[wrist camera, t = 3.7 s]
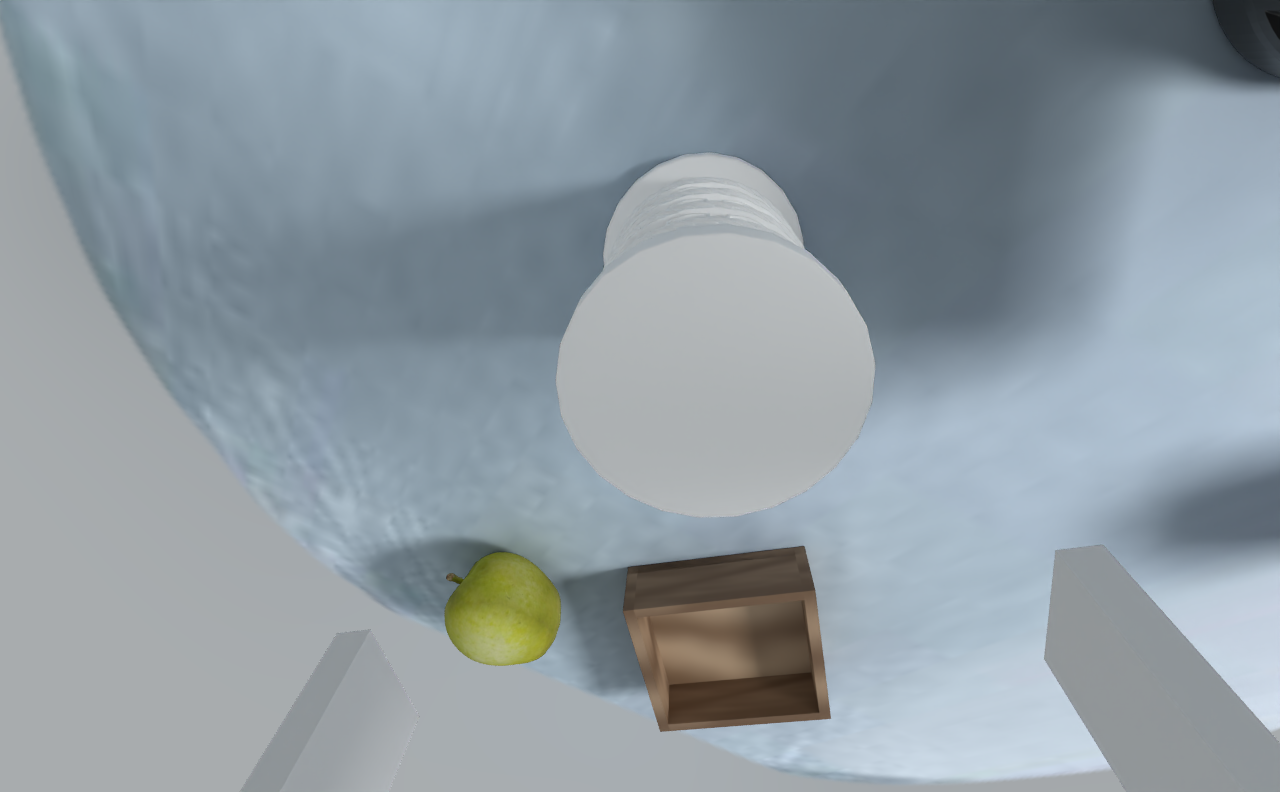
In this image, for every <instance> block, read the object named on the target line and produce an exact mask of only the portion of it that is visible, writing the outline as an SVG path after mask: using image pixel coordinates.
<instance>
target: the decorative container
mask: <svg viewBox="0 0 1280 792" xmlns="http://www.w3.org/2000/svg"><path fill="white" fill-rule="evenodd" d="M803 245H804V240H803V236H802V232H801V228H800V224H799V220H798V216H797V214H796V212H795V210H794V209H793V207H792V205H791V203H790V202H789V200H788V198H787V196H786V195H785V193H784V191H783V190H782V189H781V188H780V187H779V186H778V185H777V184H776V183H775V182H774V181H773V180H772V179H771V178H770V177H769V176H768V175H767V174H766V173H764V172H763V171H762V170H761V169H759V168H757V167H755V166H753V165H751V164H750V163H748V162H746V161H744V160H742V159H740V158H738V157H733V156H728V155H723V154H718V153H712V152H708V153H696V154H684V155H681V156H679V157H676V158H673V159H671V160H668V161H665V162H663V163H660V164H658V165H656V166H655V167H654V168H652V169H651V170H650V171H648V172H647V173H645V174H644V175H643V176H641V177H640V178H638V179H637V180H636V181H635V182H634V184H633V185H632V186H631V187H630V189H629V190H628V191H627V192H626V194H625V195H624V196H623V197H622V199H621V200H620V201H619V203H618V205H617V207H616V210H615V212H614V214H613V216H612V219H611V221H610V223H609V226H608V228H607V232H606V239H605V245H604V252H603V259H604V268H603V271H602V272H601V273H600V274H599V276H598V277H597V278H596V279H595V280H594V282H593V283H592V284H591V285H590V287H589V288H588V289H587V290H586V291H585V293H584V294H583V295H582V296H581V298H580V301H579V303H578V305H577V307H576V309H575V311H574V314H573V316H572V318H571V320H570V323H569V325H568V327H567V329H566V332H565V334H564V336H563V339H562V341H561V343H560V349H559V357H558V365H557V374H556V386H557V392H558V399H559V405H560V411H561V417H562V419H563V421H564V423H565V425H566V427H567V429H568V431H569V433H570V436H571V438H572V440H573V442H574V444H575V446H576V448H577V450H578V451H579V452H580V453H581V454H582V455H583V457H584V458H585V459H586V460H587V461H588V463H589V464H590V465H591V466H592V467H593V468H594V470H595V471H596V472H597V473H598V474H599V476H601V477H602V478H604V479H605V480H606V481H608V482H609V483H611V484H612V485H613V486H615V487H616V488H618V489H619V490H620V491H622V492H623V493H625V494H626V495H627V496H629V497H631V498H633V499H636V500H638V501H640V502H643V503H645V504H647V505H650V506H652V507H655V508H657V509H659V510H662V511H666V512H672V513H677V514H683V515H688V516H694V517H733V516H740V515H744V514H748V513H752V512H756V511H760V510H764V509H769V508H772V507H775V506H777V505H779V504H781V503H783V502H785V501H787V500H789V499H791V498H793V497H795V496H797V495H799V494H801V493H804V492H806V491H807V490H808V489H810V488H811V487H812V486H813V485H814V484H816V483H817V482H818V481H819V480H821V479H822V478H823V477H824V476H826V475H827V474H828V473H829V472H831V471H832V470H833V469H834V468H835V467H836V466H837V465H838V464H839V462H840V461H841V460H842V458H843V457H844V456H845V454H846V453H847V452H848V450H849V449H850V448H851V446H852V445H853V444H854V442H855V441H856V440H857V438H858V437H859V434H860V432H861V429H862V427H863V424H864V422H865V419H866V416H867V414H868V411H869V409H870V406H871V404H872V397H873V387H874V376H875V365H876V364H875V360H874V355H873V351H872V346H871V342H870V337H869V333H868V328H867V325H866V324H865V322H864V320H863V318H862V317H861V315H860V313H859V311H858V310H857V308H856V306H855V304H854V303H853V301H852V299H851V297H850V296H849V294H848V292H847V290H846V289H845V288H844V286H843V285H842V284H841V282H840V281H839V279H838V278H837V277H835V276H834V275H833V274H832V273H831V272H830V271H829V270H828V269H827V268H826V267H825V266H824V265H823V264H821V263H820V262H819V261H818V260H817V259H816V258H815V257H814V256H813V255H812V254H811V253H810V252H809V251H807V250H805V248H804V246H803Z"/></svg>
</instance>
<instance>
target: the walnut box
mask: <svg viewBox="0 0 1280 792" xmlns="http://www.w3.org/2000/svg"><path fill="white" fill-rule="evenodd" d="M623 613H624V616H625V619H626V623H627V626H628V629H629V632H630V635H631V639H632V642H633V645H634V648H635V652H636V655H637V658H638V661H639V664H640V668H641V671H642V674H643V677H644V681H645V684H646V687H647V690H648V693H649V697H650V700H651V703H652V706H653V710H654V713H655V716H656V719H657V722H658V726H659V729H660V731H661V732H662V731H676V730H689V729H702V728H715V727H728V726H742V725H755V724H768V723H781V722H794V721H807V720H821V719H831V716H830V708H829V699H828V691H827V683H826V675H825V667H824V658H823V650H822V642H821V634H820V626H819V617H818V609H817V601H816V593H815V588H814V583H813V579H812V575H811V571H810V567H809V563H808V559H807V555H806V551H805V547H804V546H802V547H794V548H786V549H777V550H769V551H760V552H752V553H744V554H735V555H727V556H718V557H710V558H702V559H693V560H685V561H676V562H668V563H660V564H651V565H643V566H634V567H628V573H627V581H626V590H625V598H624V606H623Z"/></svg>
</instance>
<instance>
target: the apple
mask: <svg viewBox="0 0 1280 792" xmlns="http://www.w3.org/2000/svg"><path fill="white" fill-rule="evenodd" d="M446 579H447V580H449V581H453V582H456V583H458V584H460V585H459V586H458V587H457V589H456V590H455V591H454V592H453V594H452V595H451V597H450V598H449V600H448V602H447V604H446V607H445V626H446V630H447V633H448V635H449V637H450V639H451V641H452V643H453V644H454V645H455V646H456V647H457V649H458V650H459V651H460V652H462V653H463V654H464V655H465V656H467V657H468V658H470V659H472V660H474V661H476V662H479V663H483V664H487V665H495V666H497V665H498V666H505V665H515V664H522V663H528V662H531V661H534V660H536V659H538V658H540V657H542V656H543V655H544V654H545V653H546V651H547V650H548V649H549V647H550V646H551V645H552V643H553V641H554V639H555V637H556V634H557V631H558V628H559V625H560V616H561V601H560V596H559V593H558V591H557V589H556V588H555V586H554V585H553V584H552V582H551V581H550V580H549V579H548V577H547V576H546V575H545V574H544V573H543V572H542V571H541V570H540V569H539V568H538V567H537V566H536V565H534V564H533V563H532V562H530V561H529V560H527V559H526V558H524V557H522V556H520V555H517V554H513V553H508V552H498V553H493V554H489V555H487V556H485V557H483V558H481V559H480V560H479V561H477V562H476V563H475V564H474V566H473V567H472V569H471V570H470V572H469V573H468V575H467V576H466V577H465V579H464V580H463V579H462V578H461V577H458V576H457V575H455V574H453V573H450V574H448V575H447V577H446Z"/></svg>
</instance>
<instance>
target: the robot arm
mask: <svg viewBox="0 0 1280 792" xmlns="http://www.w3.org/2000/svg"><path fill="white" fill-rule="evenodd" d="M1213 4H1214V7H1215V11H1216V14H1217V17H1218V20H1219V22H1220V25H1221V27H1222V29H1223V31H1224V33H1225V35H1226V36H1227V38H1228V39H1229V41H1230V42H1231V44H1232V45H1233V46H1234V47H1235V49H1236V50H1237V51H1238V52H1239V53H1240V54H1241V55H1242V56H1243V57H1244V58H1245V59H1246V60H1248V61H1249V62H1250V63H1252V64H1253V65H1254V66H1256V67H1258V68H1259V69H1261V70H1263V71H1265V72H1267V73H1269V74H1272V75H1274V76H1277V77H1280V0H1213ZM1044 660H1045V661H1046V663H1047V664H1048V666H1049V668H1050V669H1051V671H1052V673H1053V674H1054V676H1055V677H1056V679H1057V681H1058V682H1059V684H1060V686H1061V687H1062V689H1063V690H1064V692H1065V694H1066V695H1067V697H1068V699H1069V700H1070V702H1071V703H1072V705H1073V707H1074V708H1075V710H1076V711H1077V713H1078V715H1079V716H1080V718H1081V720H1082V721H1083V723H1084V724H1085V726H1086V728H1087V729H1088V731H1089V733H1090V734H1091V736H1092V737H1093V739H1094V741H1095V742H1096V744H1097V745H1098V747H1099V749H1100V750H1101V752H1102V754H1103V755H1104V757H1105V758H1106V760H1107V762H1108V763H1109V765H1110V767H1111V768H1112V770H1113V771H1114V773H1115V775H1116V776H1117V778H1118V779H1119V781H1120V783H1121V784H1122V786H1123V788H1124V789H1125V791H1126V792H1280V743H1279V741H1278V740H1277V739H1276V738H1275V737H1274V736H1273V735H1272V734H1271V732H1270V731H1269V730H1268V729H1267V728H1266V727H1265V726H1264V725H1263V724H1262V722H1261V721H1260V720H1259V719H1258V718H1257V717H1256V716H1255V715H1254V713H1253V712H1252V711H1251V710H1250V709H1249V708H1248V707H1247V706H1246V704H1245V703H1244V702H1243V701H1242V700H1241V699H1240V698H1239V697H1238V695H1237V694H1236V693H1235V692H1234V691H1233V690H1232V689H1231V688H1230V686H1229V685H1228V684H1227V683H1226V682H1225V681H1224V680H1223V679H1222V678H1221V676H1220V675H1219V674H1218V673H1217V672H1216V671H1215V670H1214V669H1213V667H1212V666H1211V665H1210V664H1209V663H1208V662H1207V661H1206V660H1205V658H1204V657H1203V656H1202V655H1201V654H1200V653H1199V652H1198V651H1197V649H1196V648H1195V647H1194V646H1193V645H1192V644H1191V643H1190V642H1189V640H1188V639H1187V638H1186V637H1185V636H1184V635H1183V634H1182V633H1181V632H1180V630H1179V629H1178V628H1177V627H1176V626H1175V625H1174V624H1173V623H1172V621H1171V620H1170V619H1169V618H1168V617H1167V616H1166V615H1165V614H1164V612H1163V611H1162V610H1161V609H1160V608H1159V607H1158V606H1157V605H1156V603H1155V602H1154V601H1153V600H1152V599H1151V598H1150V597H1149V596H1148V594H1147V593H1146V592H1145V591H1144V590H1143V589H1142V588H1141V587H1140V586H1139V584H1138V583H1137V582H1136V581H1135V580H1134V579H1133V578H1132V577H1131V575H1130V574H1129V573H1128V572H1127V571H1126V570H1125V569H1124V568H1123V566H1122V565H1121V564H1120V563H1119V562H1118V561H1117V560H1116V559H1115V557H1114V556H1113V555H1112V554H1111V553H1110V552H1109V551H1108V550H1107V548H1106V547H1105V546H1104V545H1096V546H1087V547H1079V548H1070V549H1061V550H1055V560H1054V569H1053V579H1052V588H1051V598H1050V607H1049V617H1048V626H1047V636H1046V645H1045V655H1044ZM418 719H419V714H418V713H417V711H416V709H415V707H414V706H413V704H412V702H411V700H410V698H409V697H408V695H407V693H406V691H405V690H404V688H403V686H402V684H401V682H400V681H399V679H398V677H397V675H396V674H395V672H394V670H393V668H392V667H391V665H390V663H389V661H388V659H387V658H386V656H385V654H384V652H383V651H382V649H381V647H380V645H379V643H378V642H377V640H376V638H375V636H374V634H373V633H372V631H371V630H361V631H353V632H345V633H337V634H336V636H335V637H334V639H333V641H332V642H331V644H330V646H329V647H328V649H327V651H326V652H325V654H324V655H323V657H322V659H321V660H320V662H319V664H318V665H317V667H316V668H315V670H314V672H313V673H312V675H311V677H310V678H309V680H308V682H307V683H306V685H305V686H304V688H303V690H302V691H301V693H300V694H299V696H298V698H297V699H296V701H295V703H294V704H293V706H292V707H291V709H290V711H289V712H288V714H287V716H286V718H285V719H284V721H283V722H282V724H281V725H280V727H279V729H278V730H277V732H276V734H275V735H274V737H273V738H272V740H271V742H270V743H269V745H268V747H267V748H266V750H265V752H264V753H263V755H262V756H261V758H260V760H259V761H258V763H257V765H256V766H255V768H254V769H253V771H252V773H251V775H250V776H249V778H248V779H247V781H246V782H245V784H244V786H243V787H242V789H241V791H240V792H389V790H390V788H391V785H392V783H393V780H394V778H395V775H396V773H397V771H398V768H399V766H400V763H401V761H402V758H403V756H404V753H405V751H406V748H407V746H408V744H409V741H410V739H411V736H412V733H413V731H414V729H415V726H416V724H417V721H418Z"/></svg>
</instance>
